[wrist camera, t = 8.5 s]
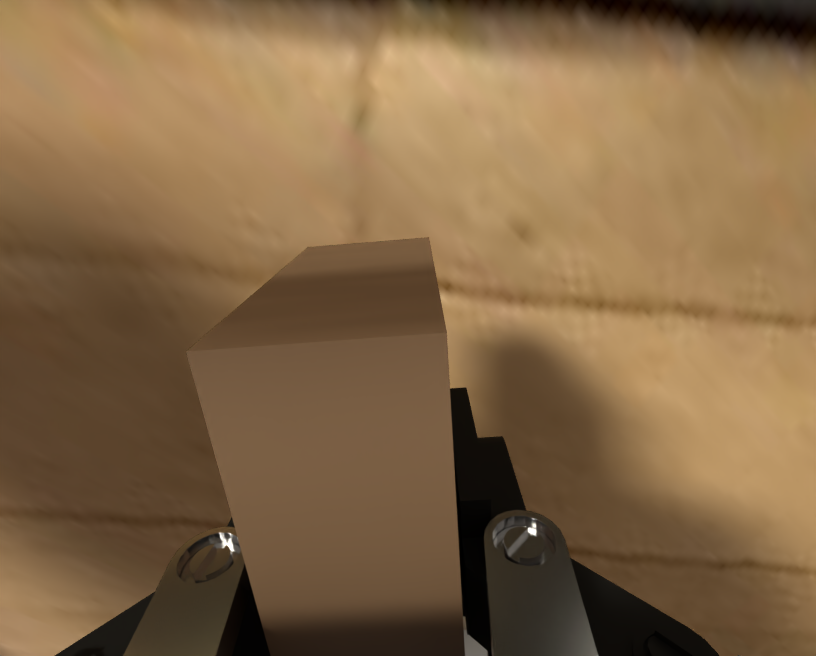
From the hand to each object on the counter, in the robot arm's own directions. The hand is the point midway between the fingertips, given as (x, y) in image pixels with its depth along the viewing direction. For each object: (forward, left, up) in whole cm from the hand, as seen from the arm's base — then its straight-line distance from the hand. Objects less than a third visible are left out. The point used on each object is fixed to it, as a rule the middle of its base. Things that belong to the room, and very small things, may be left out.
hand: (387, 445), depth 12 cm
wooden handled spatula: (+6, 0, -1) cm, 6 cm away
